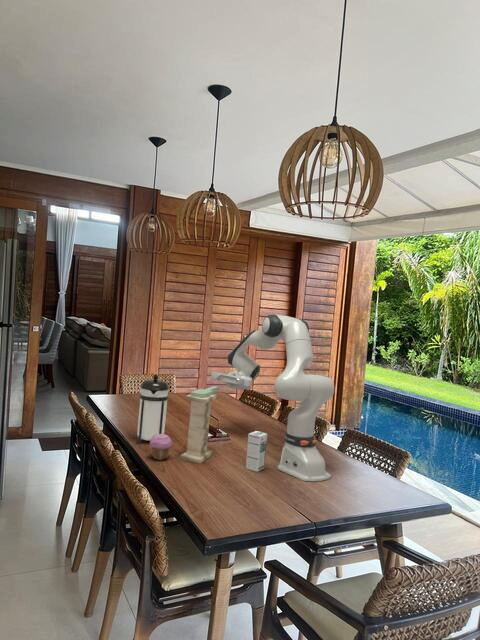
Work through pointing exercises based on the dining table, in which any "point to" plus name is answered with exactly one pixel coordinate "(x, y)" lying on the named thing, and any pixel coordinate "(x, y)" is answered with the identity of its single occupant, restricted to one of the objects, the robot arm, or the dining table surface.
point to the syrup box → (256, 451)
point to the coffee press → (152, 408)
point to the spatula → (204, 392)
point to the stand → (198, 429)
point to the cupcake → (160, 446)
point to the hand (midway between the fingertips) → (228, 378)
